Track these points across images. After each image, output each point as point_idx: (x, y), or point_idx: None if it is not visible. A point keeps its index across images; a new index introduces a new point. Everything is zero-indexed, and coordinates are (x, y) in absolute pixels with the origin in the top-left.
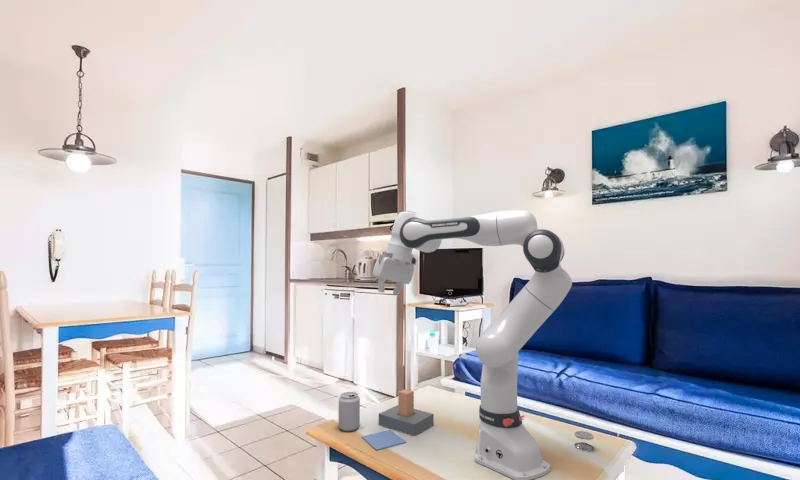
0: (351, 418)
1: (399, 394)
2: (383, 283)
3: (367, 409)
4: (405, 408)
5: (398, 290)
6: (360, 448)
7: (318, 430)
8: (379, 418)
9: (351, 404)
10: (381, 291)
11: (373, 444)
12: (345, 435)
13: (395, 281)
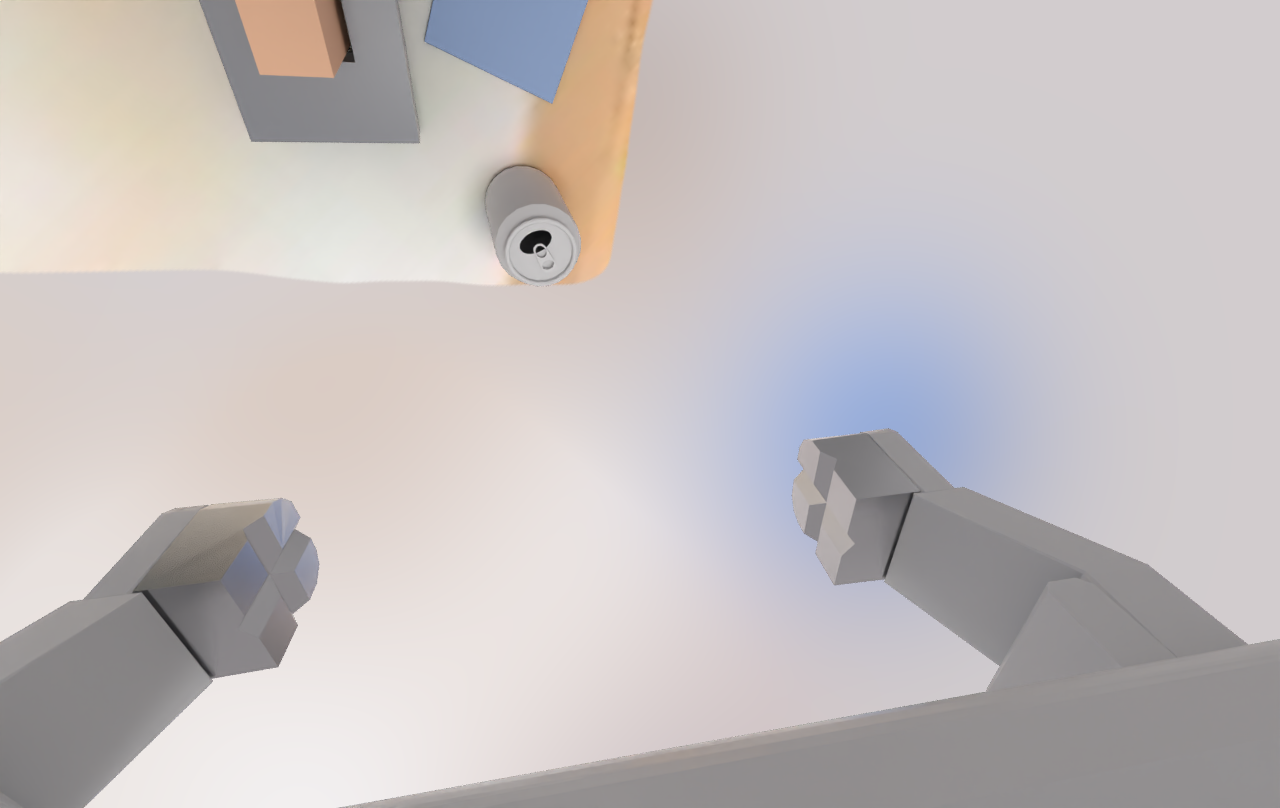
0: (549, 186)
1: (332, 66)
2: (1072, 548)
3: (347, 277)
4: (327, 3)
5: (171, 580)
6: (617, 39)
7: (596, 262)
8: (418, 132)
9: (560, 206)
10: (889, 437)
11: (576, 6)
12: (572, 166)
13: (518, 775)
